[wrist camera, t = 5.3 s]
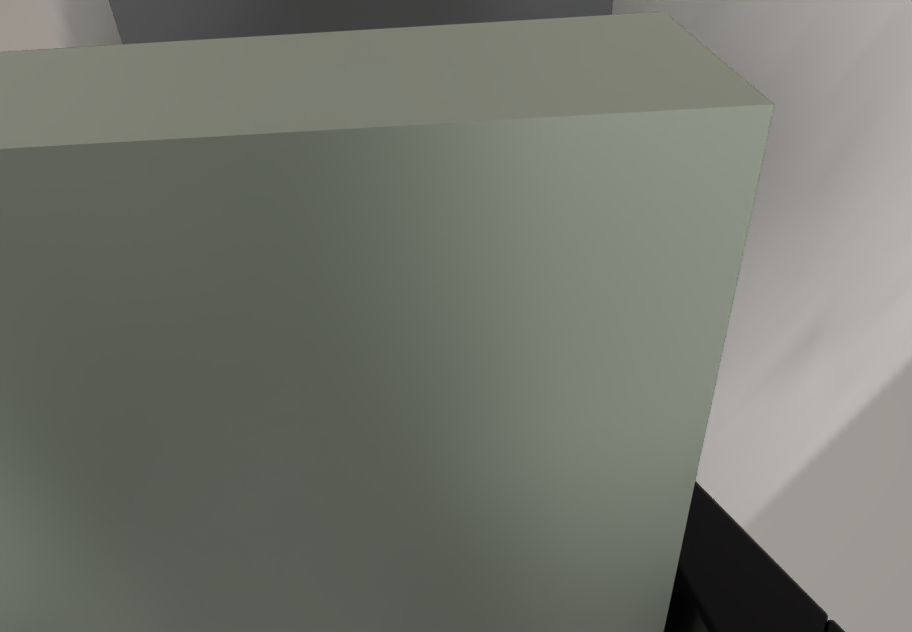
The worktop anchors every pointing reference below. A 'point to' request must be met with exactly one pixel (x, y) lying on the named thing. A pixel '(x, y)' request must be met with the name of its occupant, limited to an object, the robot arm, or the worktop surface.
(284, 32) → the grey rectangular plate
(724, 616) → the robot arm
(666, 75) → the lid
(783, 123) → the worktop surface
